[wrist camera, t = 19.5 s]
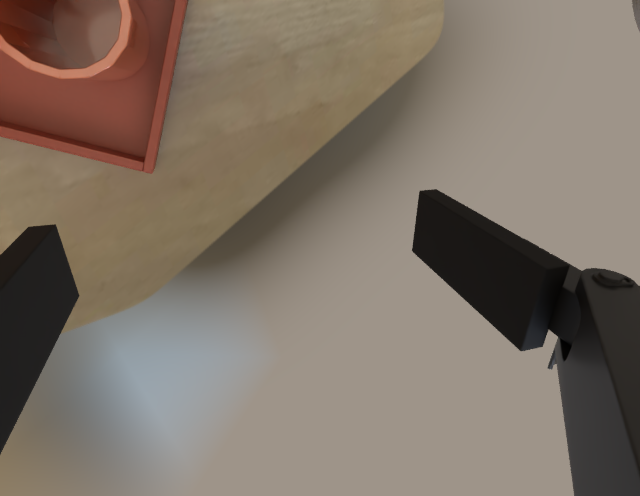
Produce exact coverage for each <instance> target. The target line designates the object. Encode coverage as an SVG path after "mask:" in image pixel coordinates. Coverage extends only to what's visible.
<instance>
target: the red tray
mask: <svg viewBox="0 0 640 496" xmlns="http://www.w3.org/2000/svg"><path fill="white" fill-rule="evenodd" d="M136 2H137V4H138V5H139V7H140V9H141V10H142V12H143V14H144V16H145V17H146V19H147V23H148V27H149V31H150V38H151V39H150V40H151V44H150V51H149V55H148V58H147V60H146V62H145V63H144V65H143V66H142V68H141V69H140V70H139V71H138V72H137V73H135V74H134V75H132V76H131V77H128V78H126V79H124V80H121V81H105V82H102V81H83V80H64V79H58V78H54V77H51V76H48V75H45V74H41V73H38V72H35V71H32V70H30V69H27V68H26V67H25V66H23V65H22V64H20V63H19V62H17V61H16V60H14V59H13V58H12V57H10V56H9V55H7V54H6V53H4V52H3V51H2V50H0V136H1V137H5V138H9V139H13V140H17V141H21V142H25V143H29V144H33V145H37V146H41V147H46V148H50V149H54V150H58V151H62V152H66V153H70V154H74V155H78V156H82V157H86V158H90V159H94V160H98V161H102V162H106V163H110V164H114V165H118V166H122V167H126V168H130V169H134V170H138V171H143V172H147V173H151V174H152V173H153V171H154V169H155V165H156V160H157V155H158V150H159V145H160V140H161V135H162V129H163V124H164V119H165V114H166V109H167V104H168V99H169V94H170V89H171V84H172V79H173V74H174V69H175V64H176V59H177V54H178V49H179V44H180V39H181V34H182V29H183V24H184V18H185V13H186V8H187V3H188V0H136Z"/></svg>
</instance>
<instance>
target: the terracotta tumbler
mask: <svg viewBox="0 0 640 496" xmlns="http://www.w3.org/2000/svg"><path fill="white" fill-rule="evenodd" d="M150 39H151V38H150V31H149V27H148V23H147V19H146V17H145V16H144V14H143V12H142V10H141V9H140V7H139V5H138V4H137V2H136V0H0V50H2V51H3V52H4V53H6V54H7V55H9V56H10V57H12V58H13V59H14V60H16V61H17V62H19V63H20V64H22V65H23V66H25V67H26V68H27V69H30V70H32V71H35V72H38V73H41V74H45V75H48V76H51V77H54V78H58V79H64V80H83V81H102V82H105V81H121V80H124V79H126V78H128V77H131V76H132V75H134V74H135V73H137V72H138V71H139V70H140V69H141V68H142V66H143V65H144V63H145V62H146V60H147V58H148V55H149V51H150V44H151V40H150Z"/></svg>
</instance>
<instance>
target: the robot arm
mask: <svg viewBox="0 0 640 496" xmlns="http://www.w3.org/2000/svg"><path fill="white" fill-rule="evenodd" d="M412 251H413V252H414V253H415V254H416V255H417V256H418V257H419V258H420V259H421V260H422V261H423V262H424V263H426V264H427V265H428V266H429V267H430V268H431V269H432V270H433V271H434V272H435V273H437V275H439V276H440V277H441V278H442V279H443V280H444V281H445V282H446V283H447V284H448V285H449V286H451V287H452V288H453V289H454V290H455V291H456V292H457V293H458V294H459V295H460V296H461V297H463V298H464V299H465V300H466V301H467V302H468V303H469V304H470V305H471V306H472V307H473V308H474V309H476V310H477V311H478V312H479V313H480V314H481V315H482V316H483V317H484V318H485V319H487V320H488V321H489V322H490V323H491V324H492V325H493V326H494V327H495V328H496V329H497V330H498V331H500V332H501V333H502V334H503V335H504V336H505V337H506V338H507V339H508V340H509V341H510V342H511V343H513V344H514V345H515V346H516V347H517V348H518V349H519V350H520V351H525V350H529V349H534V348H538V347H543V344H544V341H545V338H546V335H547V332H548V329H549V330H551V331H552V332H553V333H554V334H556V335H557V336H558V339H557V342H556V345H555V348H554V351H553V353H552V356H551V359H550V362H549V365H548V368H549V369H552V368H553V365H554V364H557V369H558V377H559V384H560V391H561V399H562V407H563V414H564V422H565V429H566V437H567V444H568V451H569V459H570V467H571V473H572V481H573V489H574V496H640V286H638V285H637V284H636V283H635V282H634V281H633V280H632V279H631V278H628V277H627V276H624V275H622V274H619V273H617V272H614V271H610V270H606V269H597V268H591V269H585V270H583V271H581V270H579V269H577V268H576V267H574V266H572V265H570V264H568V263H567V262H565V261H563V260H561V259H560V258H558V257H556V256H554V255H552V254H550V253H549V252H547V251H545V250H544V249H541V248H539V247H538V246H537V245H535V244H533V243H531V242H529V241H528V240H525V239H523V238H521V237H519V236H518V235H516V234H514V233H512V232H511V231H509V230H507V229H505V228H504V227H502V226H500V225H498V224H497V223H495V222H493V221H491V220H489V219H488V218H486V217H484V216H482V215H481V214H479V213H477V212H475V211H473V210H472V209H470V208H468V207H466V206H465V205H463V204H461V203H459V202H458V201H456V200H454V199H452V198H451V197H449V196H447V195H445V194H444V193H442V192H440V191H438V190H436V189H435V190H424V191H420V192H419V200H418V208H417V216H416V224H415V232H414V240H413V248H412ZM78 297H79V293H78V290H77V287H76V284H75V281H74V278H73V275H72V272H71V269H70V266H69V263H68V260H67V257H66V254H65V251H64V248H63V245H62V242H61V239H60V236H59V233H58V230H57V227H56V224H55V225H44V226H33V227H28V228H27V229H26V230H25V231H24V232H23V233H22V234H21V235H20V236H19V237H18V238H17V239H16V240H15V241H14V242H13V243H12V244H11V245H10V246H9V247H8V248H7V249H6V250H5V251H4V252H3V253H2V254H1V255H0V454H1V452H2V450H3V448H4V445H5V444H6V442H7V440H8V438H9V436H10V434H11V432H12V430H13V428H14V426H15V424H16V422H17V420H18V418H19V415H20V414H21V412H22V410H23V408H24V406H25V403H26V402H27V400H28V398H29V396H30V394H31V392H32V390H33V388H34V386H35V384H36V381H37V380H38V378H39V376H40V373H41V372H42V369H43V368H44V366H45V363H46V361H47V359H48V357H49V355H50V353H51V351H52V349H53V347H54V345H55V343H56V341H57V339H58V337H59V335H60V333H61V331H62V329H63V327H64V325H65V323H66V321H67V319H68V317H69V315H70V313H71V311H72V309H73V307H74V305H75V303H76V301H77V299H78Z"/></svg>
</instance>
